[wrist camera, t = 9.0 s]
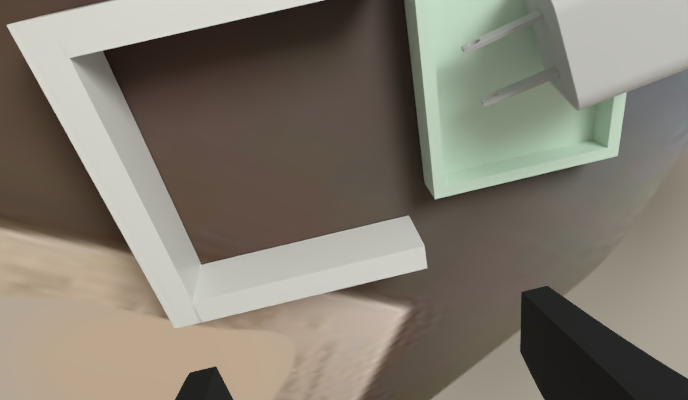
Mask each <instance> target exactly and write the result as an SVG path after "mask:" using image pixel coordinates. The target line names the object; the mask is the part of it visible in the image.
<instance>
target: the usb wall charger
mask: <svg viewBox="0 0 688 400" xmlns="http://www.w3.org/2000/svg"><path fill="white" fill-rule="evenodd" d="M524 2H525V6H526V9H527V13H528V15H526V16H524V17H521V18H519V19H517V20H515V21H513V22H511V23H509V24H506V25H504V26H502V27H500V28H498V29H496V30H494V31H491V32H489V33H487V34H485V35H483V36H481V37H479V38H477V39H475V40H473V41H471V42H469V43H467V44H465V45H463V46H462V47H461V49H462V51H463V53H464V54H466V53H469V52H471V51H473V50H476V49H478V48H480V47H482V46H485V45H487V44H489V43H492V42H494V41H496V40H498V39H500V38H503V37H505V36H507V35H509V34H511V33H513V32H516V31H518V30H520V29H522V28H524V27H526V26H529V25H531V27H532V30H533V34H534V37H535V41H536V44H537V48H538V51H539V55H540V58H541V62H542V65H543V68H544V71H541V72H539V73H537V74H534V75H532V76H530V77H527V78H525V79H522V80H520V81H518V82H515V83H513V84H510V85H508V86H506V87H503V88H501V89H499V90H497V91H495V92H492V93H490V94H488V95H486V96H484V97H482V98H480V101H481V103H482V105H483V106H484V107H485V106H488V105H491V104H494V103H496V102H499V101H501V100H504V99H507V98H509V97H512V96H514V95H517V94H519V93H521V92H524V91H526V90H529V89H531V88H534V87H536V86H538V85H541V84H543V83H546V82H548V81H549V82H550V83H551V85H552V86H553V87H554V88H555V89H556V90H557V91H558V92H559V93H560V94H561V95H562V96H563V97H564V98H565V99H566V101H567V102H568V103H569V104H570V105H571V106H572V107H573V108H574V109H575V110H576V111H579V110H581V109H584V108H587V107H589V106H592V105H594V104H597V103H600V102H602V101H605V100H608V99H610V98H613V97H615V96H618V95H621V94H623V93H626V92H628V91H631V90H634V89H636V88H639V87H641V86H644V85H647V84H649V83H652V82H655V81H657V80H660V79H662V78H665V77H668V76H670V75H673V74H675V73H678V72H681V71H683V70H686V69H688V0H524ZM496 96H497V97H496ZM493 97H496V98H494V99H491V100H489V99H490V98H493Z"/></svg>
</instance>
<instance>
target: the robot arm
mask: <svg viewBox="0 0 688 400" xmlns="http://www.w3.org/2000/svg"><path fill="white" fill-rule="evenodd" d="M520 352H521V354H522V356H523V358H524V360H525V362H526V364H527V367H528V368H529V371H530V373H531V375H532V377H533V379H534V381H535V383H536V385H537V387H538V389H539V390H540V392H541V394H542V396H543V398H544V399H545V400H688V379H687V378H686V377H684V376H682V375H681V374H679V373H677V372H676V371H674V370H672V369H671V368H669V367H667V366H666V365H664V364H663V363H661V362H660V361H658V360H656V359H655V358H653V357H652V356H650V355H648V354H647V353H645V352H644V351H642V350H641V349H639V348H637V347H636V346H635V345H633V344H632V343H630V342H628V341H627V340H625V339H624V338H622V337H621V336H619V335H618V334H616V333H615V332H613V331H612V330H610V329H609V328H607V327H606V326H604V325H603V324H602V323H600V322H599V321H597V320H596V319H594V318H593V317H591V316H590V315H588V314H587V313H586V312H584V311H583V310H581V309H580V308H578V307H577V306H576V305H574V304H573V303H571V302H570V301H568V300H567V299H566V298H564V297H563V296H561V295H560V294H558V293H557V292H556V291H554V290H553V289H551V288H550V287H548V286H545V287H541V288H537V289H532V290H528V291H524V292H522V298H521V345H520ZM175 400H233V398H232V396H231V394H230V393H229V391H228V389H227V387H226V385H225V383H224V381H223V379H222V377H221V375H220V374H219V371H218V370H217V367H212V368H208V369H204V370H199V371H195V372H191V373H189V375H188V377H187V378H186V380H185V382H184V384H183V385H182V387H181V389H180V391H179V393H178V395H177V397H176V399H175Z"/></svg>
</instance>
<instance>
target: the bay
mask: <svg viewBox="0 0 688 400" xmlns="http://www.w3.org/2000/svg"><path fill="white" fill-rule="evenodd" d="M319 1H323V0H109V1H105V2H100V3H96V4H91V5H87V6H83V7H78V8H74V9H69V10H65V11H60V12H56V13H51V14H47V15H43V16H39V17H35V18H31V19H27V20H24V21H20V22H16V23H12V24H8V25H7V27H8V29H9V31H10V32H11V34H12V36H13V38H14V40H15V41H16V43H17V45H18V47H19V49H20V50H21V52H22V54H23V56H24V58H25V59H26V61H27V63H28V65H29V67H30V68H31V70H32V72H33V74H34V76H35V77H36V79H37V81H38V83H39V85H40V87H41V88H42V90H43V92H44V94H45V96H46V97H47V99H48V101H49V103H50V105H51V106H52V108H53V110H54V112H55V114H56V115H57V117H58V119H59V121H60V123H61V124H62V126H63V128H64V130H65V132H66V133H67V135H68V137H69V139H70V141H71V142H72V144H73V146H74V148H75V150H76V151H77V153H78V155H79V157H80V159H81V160H82V162H83V164H84V166H85V168H86V169H87V171H88V173H89V175H90V177H91V179H92V180H93V182H94V184H95V186H96V188H97V189H98V191H99V193H100V195H101V197H102V198H103V200H104V202H105V204H106V206H107V207H108V209H109V211H110V213H111V215H112V216H113V218H114V220H115V222H116V224H117V225H118V227H119V229H120V231H121V233H122V234H123V236H124V238H125V240H126V242H127V243H128V245H129V247H130V249H131V251H132V252H133V254H134V256H135V258H136V260H137V261H138V263H139V265H140V267H141V269H142V271H143V272H144V274H145V276H146V278H147V280H148V281H149V283H150V285H151V287H152V289H153V290H154V292H155V294H156V296H157V298H158V299H159V301H160V303H161V305H162V307H163V308H164V310H165V312H166V314H167V316H168V317H169V319H170V321H171V323H172V325H173V326H174V328H175V329H177V328H181V327H185V326H190V325H194V324H198V323H202V322H206V321H210V320H214V319H219V318H223V317H227V316H231V315H235V314H239V313H244V312H248V311H252V310H256V309H260V308H264V307H268V306H273V305H277V304H281V303H285V302H289V301H293V300H297V299H302V298H306V297H310V296H314V295H318V294H322V293H326V292H331V291H335V290H339V289H343V288H347V287H351V286H356V285H360V284H364V283H368V282H372V281H376V280H380V279H385V278H389V277H393V276H397V275H401V274H405V273H409V272H414V271H418V270H422V269H426V268H427V262H426V254H425V246H424V244H423V242H422V240H421V238H420V236H419V234H418V232H417V230H416V228H415V226H414V224H413V222H412V220H411V219H410V217H409V215H408V216H404V217H400V218H396V219H392V220H387V221H383V222H379V223H375V224H371V225H366V226H362V227H358V228H354V229H350V230H345V231H341V232H337V233H333V234H329V235H324V236H320V237H316V238H312V239H308V240H303V241H299V242H295V243H291V244H287V245H282V246H278V247H274V248H270V249H266V250H261V251H257V252H253V253H249V254H245V255H240V256H236V257H232V258H228V259H224V260H219V261H215V262H211V263H207V264H203V265H201V263H200V261H199V259H198V256H197V254H196V252H195V250H194V248H193V246H192V243H191V241H190V239H189V237H188V235H187V233H186V230H185V228H184V226H183V224H182V222H181V220H180V217H179V215H178V213H177V211H176V209H175V207H174V204H173V202H172V200H171V198H170V196H169V194H168V191H167V189H166V187H165V185H164V183H163V181H162V178H161V176H160V174H159V172H158V170H157V168H156V165H155V163H154V161H153V159H152V157H151V155H150V152H149V150H148V148H147V146H146V144H145V141H144V139H143V137H142V135H141V133H140V131H139V128H138V126H137V124H136V122H135V120H134V118H133V115H132V113H131V111H130V109H129V107H128V105H127V102H126V100H125V98H124V96H123V94H122V92H121V89H120V87H119V85H118V83H117V81H116V79H115V76H114V74H113V72H112V70H111V68H110V66H109V63H108V61H107V59H106V57H105V55H104V53H103V50H107V49H112V48H116V47H121V46H125V45H129V44H134V43H138V42H143V41H147V40H151V39H156V38H160V37H165V36H169V35H173V34H178V33H182V32H187V31H191V30H195V29H200V28H204V27H209V26H213V25H217V24H222V23H226V22H231V21H235V20H239V19H244V18H248V17H253V16H257V15H261V14H266V13H270V12H275V11H279V10H283V9H288V8H292V7H297V6H301V5H305V4H310V3H314V2H319Z"/></svg>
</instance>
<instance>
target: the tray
mask: <svg viewBox="0 0 688 400" xmlns="http://www.w3.org/2000/svg"><path fill="white" fill-rule="evenodd" d="M404 5H405V14H406V23H407V32H408V41H409V50H410V58H411V67H412V76H413V85H414V94H415V103H416V112H417V121H418V130H419V139H420V148H421V157H422V166H423V175H424V183H425V185H426V186H427V188H428V189H429V191H430V193H431V194H432V196H433V197H434V199H439V198H443V197H447V196H451V195H455V194H460V193H464V192H468V191H472V190H476V189H481V188H485V187H489V186H493V185H497V184H502V183H506V182H510V181H514V180H518V179H523V178H527V177H531V176H535V175H539V174H544V173H548V172H552V171H556V170H560V169H565V168H569V167H573V166H577V165H581V164H586V163H590V162H594V161H598V160H602V159H607V158H611V157H615V156H618V150H619V143H620V136H621V129H622V122H623V115H624V107H625V100H626V93H627V92H626V93H623V94H621V95H618V96H615V97H613V98H610V99H608V100H605V101H602V102H600V103H597V104H594V105H592V106H589V107H587V108H584V109H581V110H579V111H576V110H575V109H574V108H573V107H572V106H571V105H570V104H569V103H568V102H567V101H566V99H565V98H564V97H563V96H562V95H561V94H560V93H559V92H558V91H557V90H556V89H555V88H554V87H553V86H552V85H551V83H550V82H549V81H548V82H546V83H543V84H541V85H538V86H536V87H534V88H531V89H529V90H526V91H524V92H521V93H519V94H517V95H514V96H512V97H509V98H507V99H504V100H501V101H499V102H496V103H494V104H491V105H488V106H485V107H484V106H483V105H482V103H481V101H480V98H482V97H484V96H486V95H488V94H490V93H492V92H495V91H497V90H499V89H501V88H503V87H506V86H508V85H510V84H513V83H515V82H518V81H520V80H522V79H525V78H527V77H530V76H532V75H534V74H537V73H539V72H541V71H544V68H543V65H542V62H541V58H540V55H539V51H538V48H537V44H536V41H535V37H534V34H533V30H532V27H531V25H529V26H526V27H524V28H522V29H520V30H518V31H516V32H513V33H511V34H509V35H507V36H505V37H503V38H500V39H498V40H496V41H494V42H492V43H489V44H487V45H485V46H482V47H480V48H478V49H476V50H473V51H471V52H469V53H466V54H464V53H463V51H462V49H461V47H462V46H463V45H465V44H467V43H469V42H471V41H473V40H475V39H477V38H479V37H481V36H483V35H485V34H487V33H489V32H491V31H494V30H496V29H498V28H500V27H502V26H504V25H506V24H509V23H511V22H513V21H515V20H517V19H519V18H521V17H524V16H526V15H528V13H527V9H526V6H525V2H524V0H404ZM496 97H497V96H496ZM496 97H493V98H490V99H489V100H491V99H494V98H496Z"/></svg>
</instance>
